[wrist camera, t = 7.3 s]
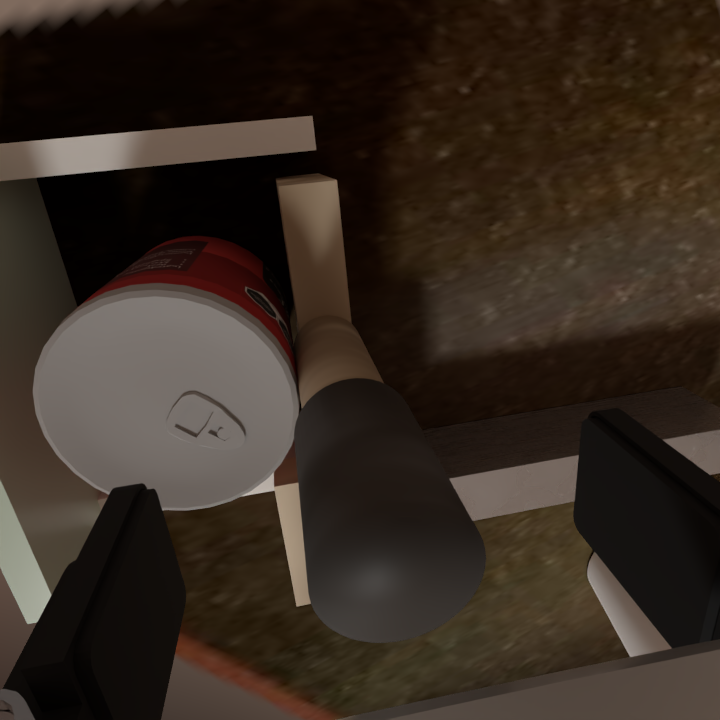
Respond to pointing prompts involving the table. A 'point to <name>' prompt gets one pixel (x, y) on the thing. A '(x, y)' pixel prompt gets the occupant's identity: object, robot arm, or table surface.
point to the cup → (624, 612)
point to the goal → (46, 312)
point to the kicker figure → (360, 461)
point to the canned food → (174, 377)
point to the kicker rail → (560, 448)
